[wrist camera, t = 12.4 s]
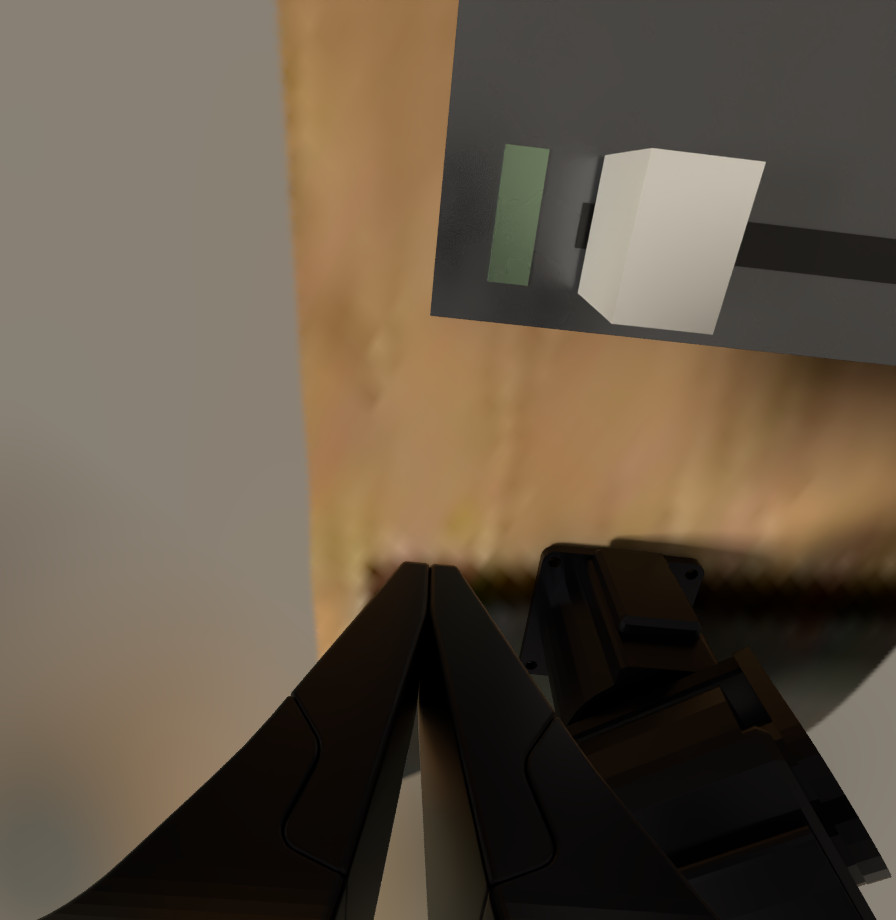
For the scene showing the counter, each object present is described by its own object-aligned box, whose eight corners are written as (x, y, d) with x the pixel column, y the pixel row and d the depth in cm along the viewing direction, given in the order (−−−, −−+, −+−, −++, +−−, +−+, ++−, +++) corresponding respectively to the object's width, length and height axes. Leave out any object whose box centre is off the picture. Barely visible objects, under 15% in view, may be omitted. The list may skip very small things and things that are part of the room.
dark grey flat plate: (984, 365, 20) (1025, 380, 18) (431, 305, 19) (430, 316, 18) (1351, -331, 13) (1464, -394, 11) (503, -469, 12) (510, -558, 11)
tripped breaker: (658, 301, 17) (712, 334, 13) (577, 293, 17) (611, 323, 13) (693, 165, 16) (765, 161, 12) (605, 155, 15) (651, 147, 12)
